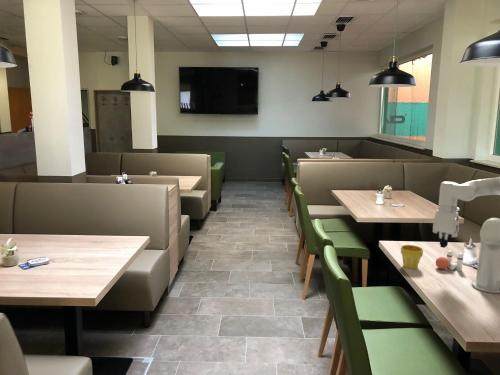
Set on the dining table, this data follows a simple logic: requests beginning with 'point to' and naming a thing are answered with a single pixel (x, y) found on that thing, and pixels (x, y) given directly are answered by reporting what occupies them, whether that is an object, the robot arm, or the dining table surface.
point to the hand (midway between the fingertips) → (443, 246)
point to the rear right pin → (459, 262)
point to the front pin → (453, 266)
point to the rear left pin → (449, 257)
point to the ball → (442, 263)
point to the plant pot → (411, 256)
